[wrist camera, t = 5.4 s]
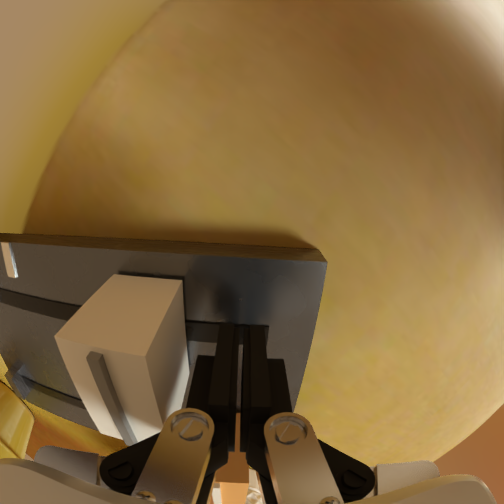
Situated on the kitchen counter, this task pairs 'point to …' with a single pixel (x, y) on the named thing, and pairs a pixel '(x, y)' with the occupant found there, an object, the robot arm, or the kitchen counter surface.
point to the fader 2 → (232, 476)
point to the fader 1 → (129, 355)
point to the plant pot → (13, 424)
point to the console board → (153, 266)
